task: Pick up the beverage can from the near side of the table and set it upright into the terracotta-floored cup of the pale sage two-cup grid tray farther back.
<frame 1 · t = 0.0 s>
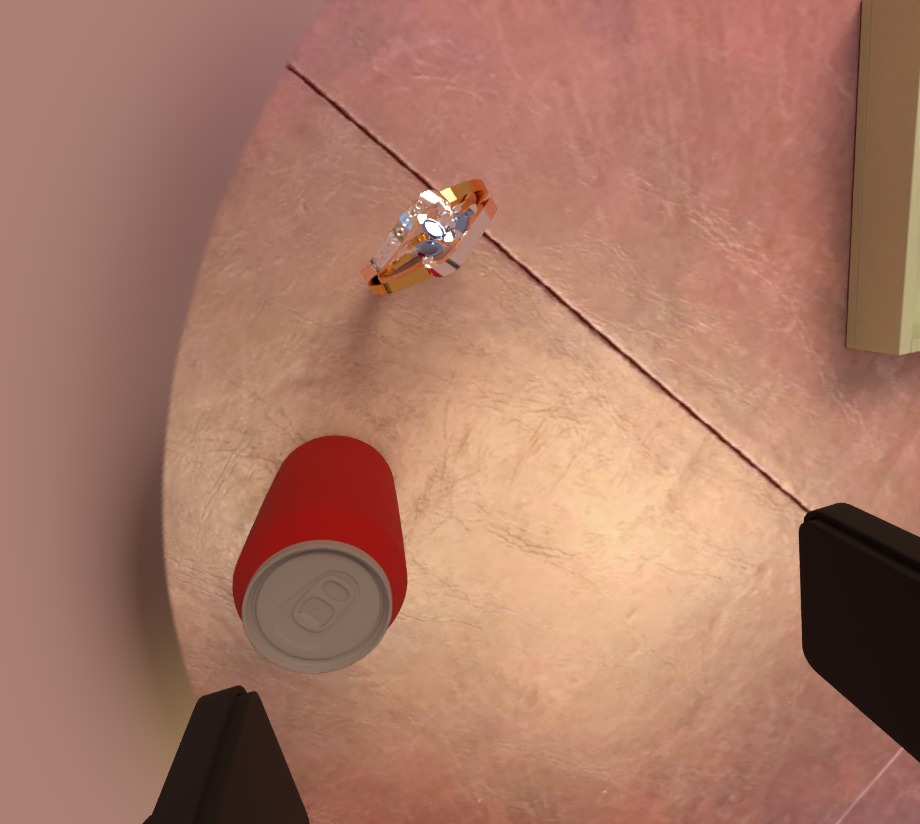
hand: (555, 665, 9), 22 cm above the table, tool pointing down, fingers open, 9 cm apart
beverage can: (336, 484, 31), on the table
ring: (419, 245, 28), on the table
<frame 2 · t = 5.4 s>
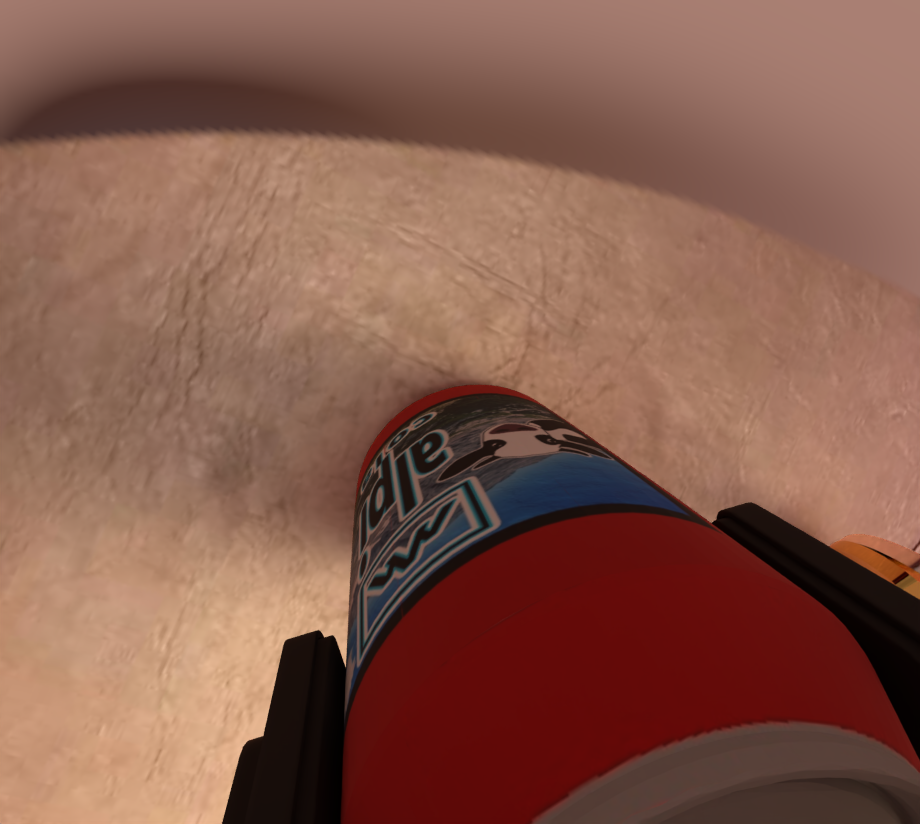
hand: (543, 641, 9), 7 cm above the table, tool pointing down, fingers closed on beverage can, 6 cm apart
beverage can: (466, 483, 16), on the table, touching gripper
ring: (826, 568, 20), on the table
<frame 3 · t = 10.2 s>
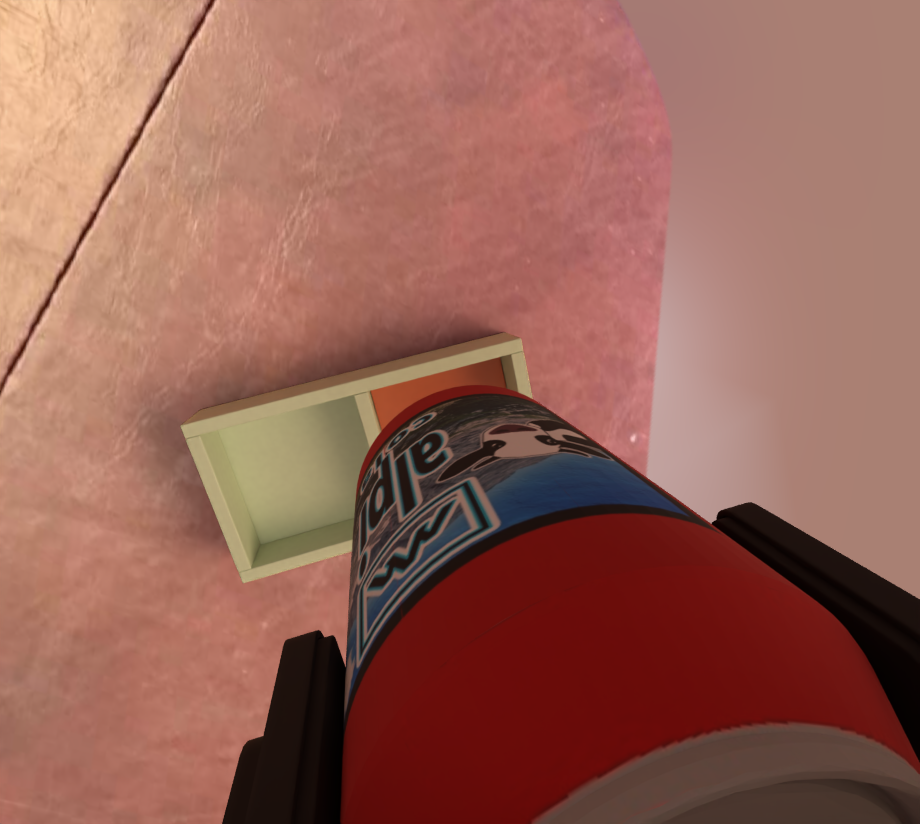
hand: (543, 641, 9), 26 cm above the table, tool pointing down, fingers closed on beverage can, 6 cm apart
grid: (378, 443, 34), on the table
beverage can: (466, 484, 16), point 18 cm above the table, touching gripper
when the fingers open (8 cm above the table, at t = 15.0 s): beverage can stays where it is, resting on grid.
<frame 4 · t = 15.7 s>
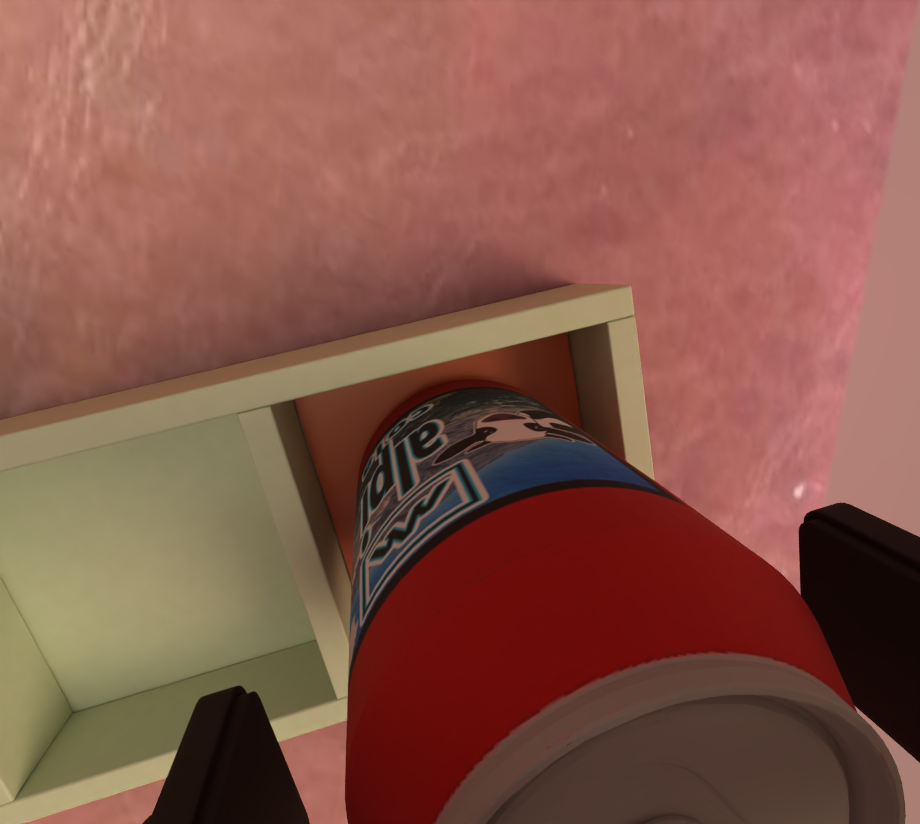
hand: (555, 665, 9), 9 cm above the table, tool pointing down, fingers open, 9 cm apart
grid: (318, 507, 17), on the table
beverage can: (462, 474, 17), point 1 cm above the table, touching grid
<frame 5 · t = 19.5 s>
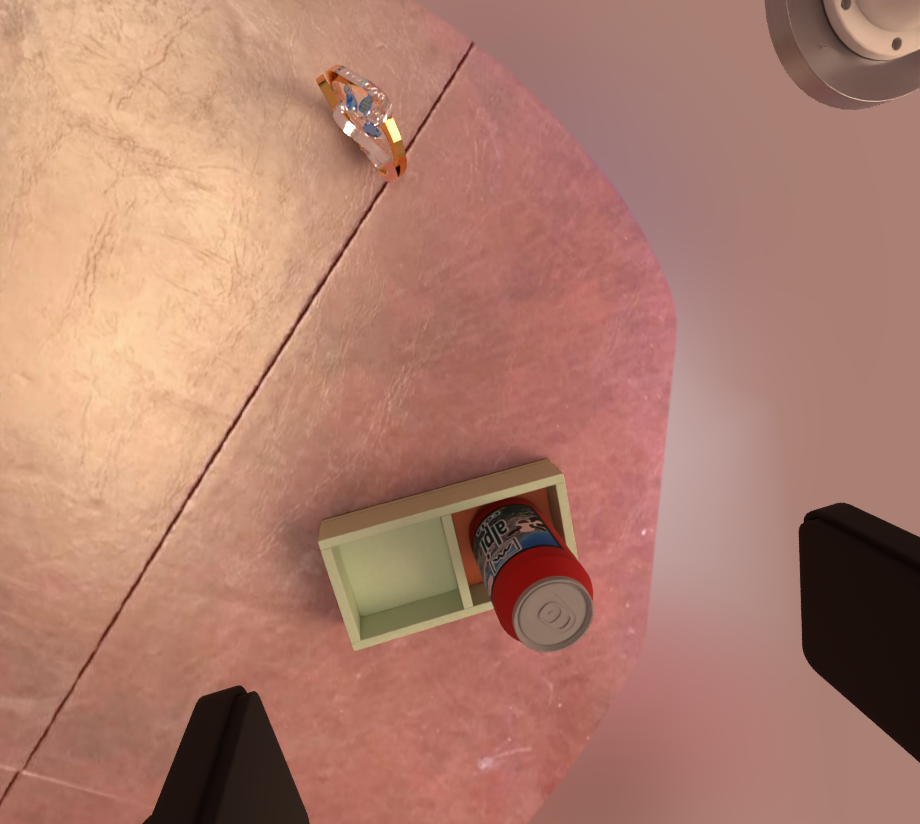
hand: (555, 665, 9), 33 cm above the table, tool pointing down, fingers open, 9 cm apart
grid: (450, 541, 45), on the table
beverage can: (505, 528, 45), point 1 cm above the table, touching grid
ring: (362, 143, 36), on the table
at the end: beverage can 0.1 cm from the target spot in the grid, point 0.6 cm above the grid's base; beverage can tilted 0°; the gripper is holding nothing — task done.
